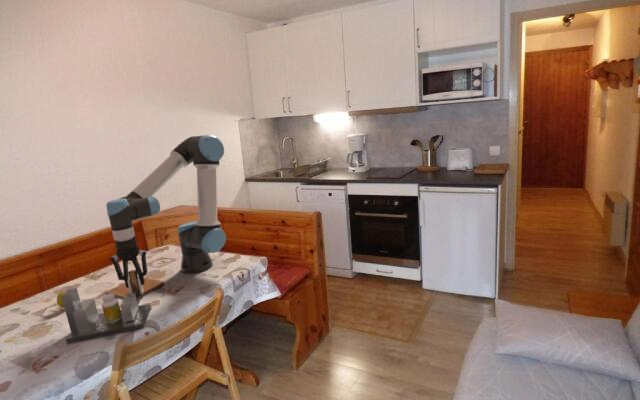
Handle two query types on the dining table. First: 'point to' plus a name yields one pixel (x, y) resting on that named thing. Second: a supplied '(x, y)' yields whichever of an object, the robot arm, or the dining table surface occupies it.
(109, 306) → the supplement bottle
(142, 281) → the robot arm
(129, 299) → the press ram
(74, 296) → the grey frame
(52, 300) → the dining table surface
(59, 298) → the lemon
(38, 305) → the dining table surface
